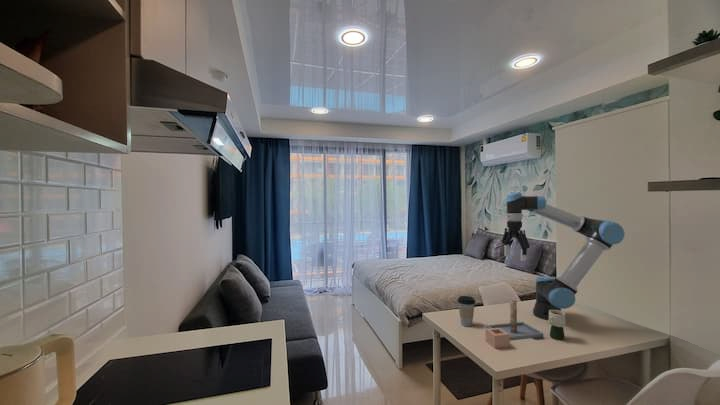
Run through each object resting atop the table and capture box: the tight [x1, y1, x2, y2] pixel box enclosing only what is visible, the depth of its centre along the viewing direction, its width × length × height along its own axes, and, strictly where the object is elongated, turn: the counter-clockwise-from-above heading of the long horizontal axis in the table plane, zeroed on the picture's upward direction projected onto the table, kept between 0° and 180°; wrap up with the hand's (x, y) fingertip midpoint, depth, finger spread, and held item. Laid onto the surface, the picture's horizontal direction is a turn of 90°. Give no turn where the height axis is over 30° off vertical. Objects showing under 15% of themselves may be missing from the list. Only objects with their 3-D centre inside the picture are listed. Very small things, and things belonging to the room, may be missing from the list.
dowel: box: [509, 299, 518, 333], centre depth 160 cm, size 3×3×16 cm
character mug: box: [548, 310, 567, 340], centre depth 155 cm, size 11×7×13 cm, turn 110°
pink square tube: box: [485, 328, 511, 350], centre depth 148 cm, size 8×8×7 cm
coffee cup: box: [457, 295, 476, 328], centre depth 173 cm, size 9×9×15 cm
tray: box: [485, 321, 544, 341], centre depth 161 cm, size 22×15×2 cm
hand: (515, 258), depth 173 cm, fingers open, 13 cm apart
